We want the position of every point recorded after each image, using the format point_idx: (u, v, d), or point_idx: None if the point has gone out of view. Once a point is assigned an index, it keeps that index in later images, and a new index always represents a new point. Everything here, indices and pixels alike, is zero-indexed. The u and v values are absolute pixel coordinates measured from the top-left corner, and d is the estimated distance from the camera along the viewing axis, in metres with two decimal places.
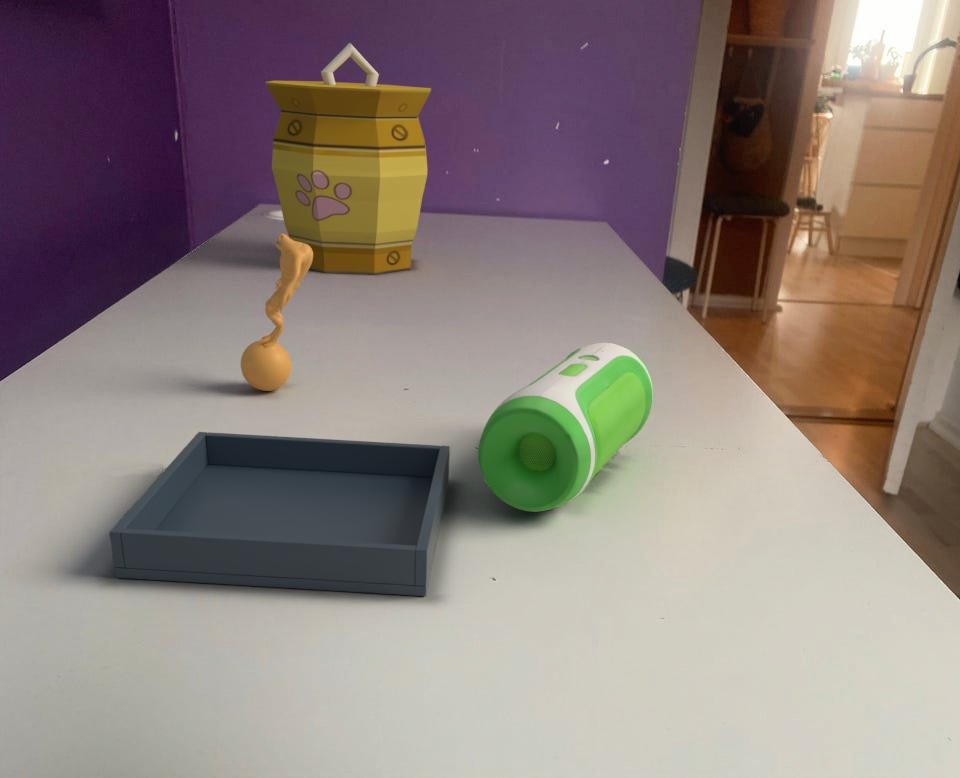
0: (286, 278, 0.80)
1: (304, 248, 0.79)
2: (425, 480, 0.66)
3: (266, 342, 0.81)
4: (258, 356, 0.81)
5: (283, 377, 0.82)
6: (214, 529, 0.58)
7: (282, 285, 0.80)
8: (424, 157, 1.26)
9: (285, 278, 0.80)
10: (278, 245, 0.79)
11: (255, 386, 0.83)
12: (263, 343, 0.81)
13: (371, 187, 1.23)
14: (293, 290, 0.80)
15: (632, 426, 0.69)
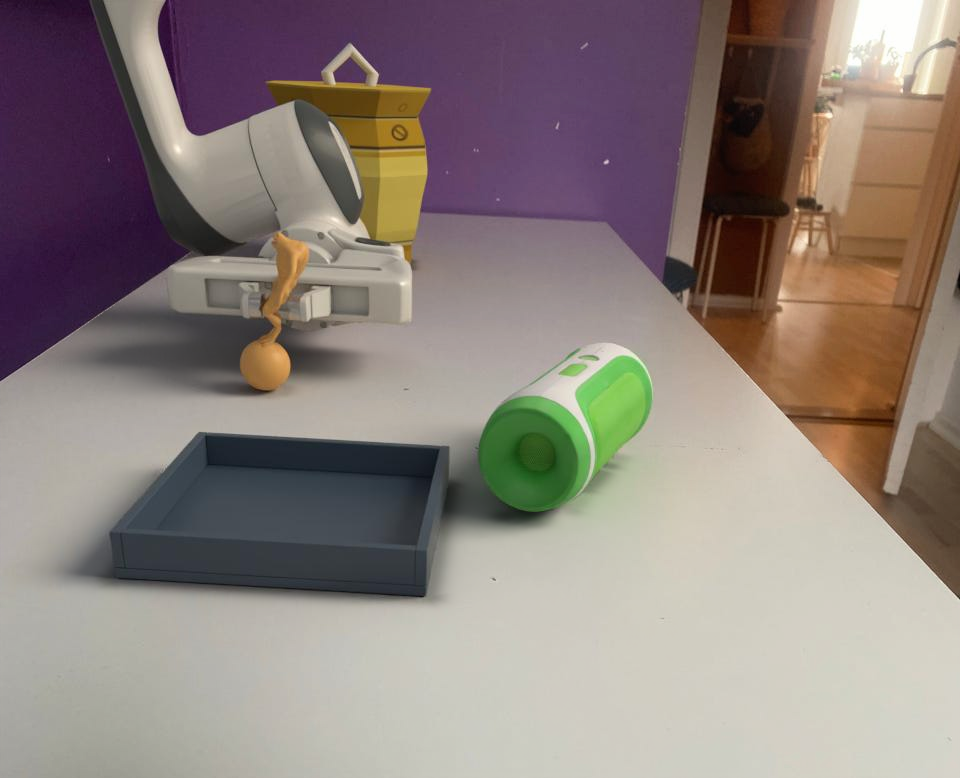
0: (282, 277, 0.79)
1: (300, 246, 0.79)
2: (425, 480, 0.66)
3: (264, 341, 0.81)
4: (257, 355, 0.81)
5: (282, 375, 0.82)
6: (214, 529, 0.58)
7: (279, 284, 0.80)
8: (424, 157, 1.26)
9: (281, 277, 0.80)
10: (274, 244, 0.79)
11: (255, 386, 0.83)
12: (261, 342, 0.81)
13: (371, 187, 1.23)
14: (290, 288, 0.80)
15: (632, 426, 0.69)
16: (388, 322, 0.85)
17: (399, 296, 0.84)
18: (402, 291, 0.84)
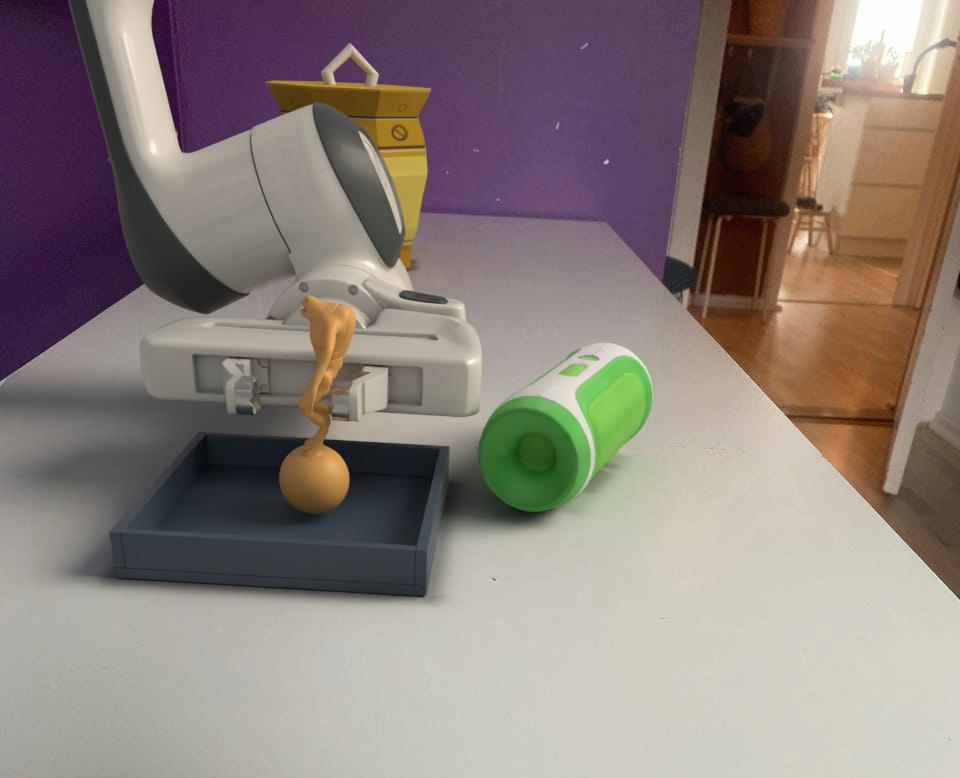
0: (321, 357, 0.55)
1: (340, 311, 0.54)
2: (425, 480, 0.66)
3: (307, 449, 0.58)
4: (298, 470, 0.57)
5: (337, 493, 0.58)
6: (214, 529, 0.58)
7: None
8: (424, 157, 1.26)
9: (320, 357, 0.55)
10: (303, 313, 0.55)
11: (302, 510, 0.59)
12: (304, 451, 0.58)
13: None
14: (334, 372, 0.56)
15: (632, 426, 0.69)
16: (449, 415, 0.61)
17: (466, 380, 0.60)
18: (470, 373, 0.60)
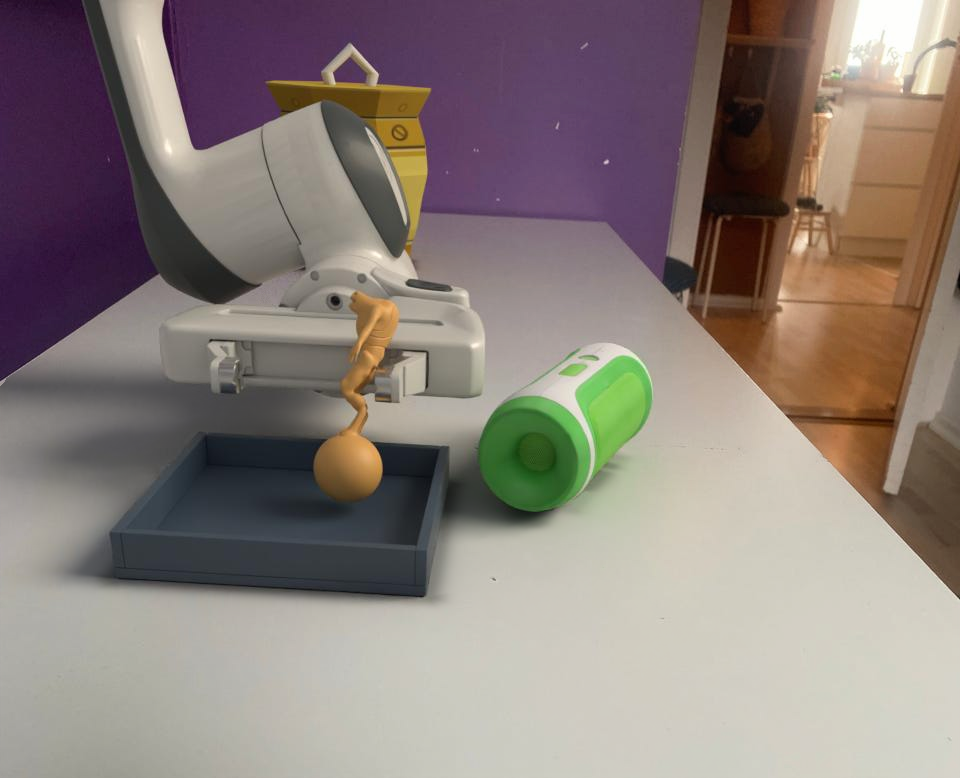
0: (364, 343, 0.59)
1: (385, 301, 0.59)
2: (425, 480, 0.66)
3: (345, 430, 0.59)
4: (334, 445, 0.59)
5: (370, 472, 0.59)
6: (214, 529, 0.58)
7: (361, 355, 0.60)
8: (424, 157, 1.26)
9: (364, 343, 0.59)
10: (352, 304, 0.60)
11: (334, 491, 0.59)
12: (341, 432, 0.59)
13: None
14: (376, 359, 0.60)
15: (632, 426, 0.69)
16: (454, 396, 0.64)
17: (470, 362, 0.63)
18: (474, 356, 0.63)
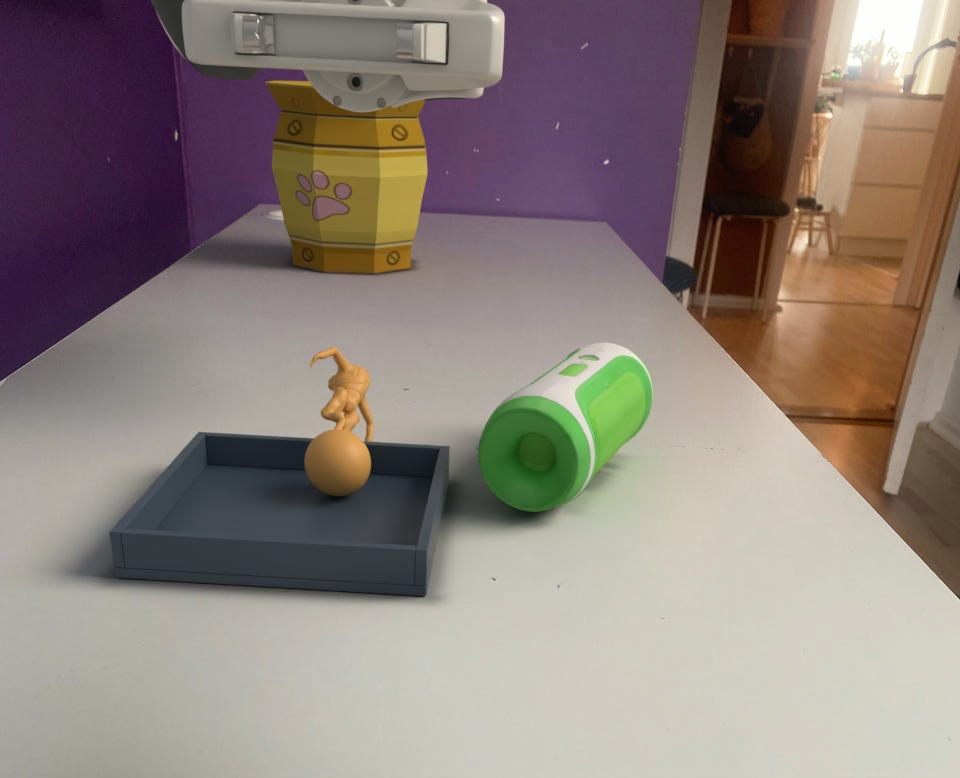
0: None
1: None
2: (425, 480, 0.66)
3: None
4: None
5: (350, 439, 0.61)
6: (214, 529, 0.58)
7: None
8: (424, 157, 1.26)
9: None
10: (329, 383, 0.69)
11: (320, 466, 0.61)
12: None
13: (371, 187, 1.23)
14: (352, 397, 0.66)
15: (632, 426, 0.69)
16: (473, 74, 0.65)
17: (490, 35, 0.63)
18: (493, 27, 0.63)
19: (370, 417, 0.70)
